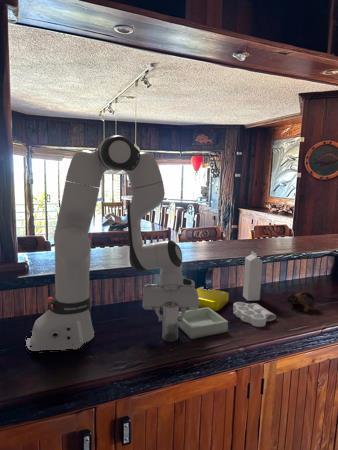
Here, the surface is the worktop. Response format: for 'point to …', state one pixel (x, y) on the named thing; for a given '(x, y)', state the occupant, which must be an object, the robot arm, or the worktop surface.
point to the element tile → (212, 298)
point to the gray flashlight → (170, 321)
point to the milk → (252, 277)
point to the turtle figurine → (301, 300)
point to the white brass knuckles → (253, 313)
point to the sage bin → (202, 323)
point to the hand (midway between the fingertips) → (170, 321)
